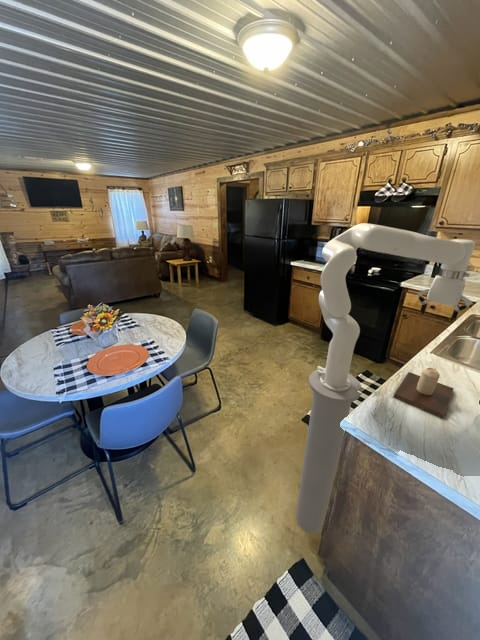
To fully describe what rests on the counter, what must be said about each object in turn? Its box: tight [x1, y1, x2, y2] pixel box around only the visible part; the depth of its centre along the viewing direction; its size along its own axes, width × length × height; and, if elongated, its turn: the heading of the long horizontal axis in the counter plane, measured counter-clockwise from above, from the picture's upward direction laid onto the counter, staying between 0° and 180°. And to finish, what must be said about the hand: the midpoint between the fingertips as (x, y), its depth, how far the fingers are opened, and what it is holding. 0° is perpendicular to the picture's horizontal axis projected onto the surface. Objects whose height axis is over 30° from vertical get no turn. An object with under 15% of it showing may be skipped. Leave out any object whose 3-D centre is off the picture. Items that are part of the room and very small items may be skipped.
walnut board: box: [393, 371, 454, 419], centre depth 104 cm, size 16×20×2 cm
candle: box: [417, 367, 441, 395], centre depth 101 cm, size 6×6×10 cm
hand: (437, 316), depth 104 cm, fingers open, 9 cm apart
